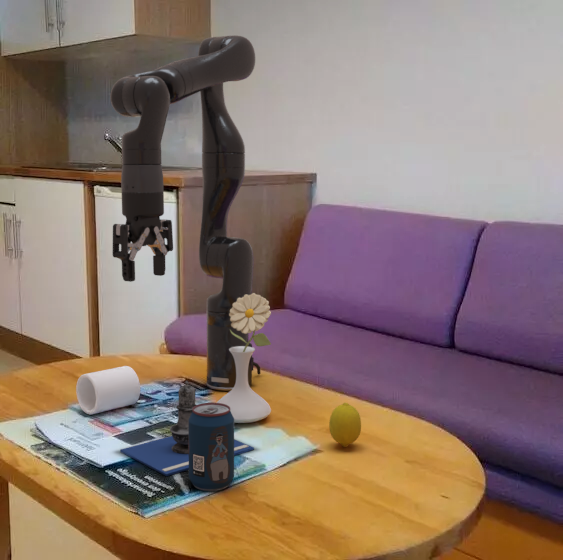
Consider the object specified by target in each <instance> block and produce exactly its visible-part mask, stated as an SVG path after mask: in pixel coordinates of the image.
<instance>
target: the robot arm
mask: <svg viewBox="0 0 563 560" xmlns="http://www.w3.org/2000/svg"><path fill="white" fill-rule="evenodd" d="M199 44H200V45H199V47H198V52H197V56H192V57H187V58H183V59H179V60H178V59H177V60H175V61H171V62H169V63H167V64H165V65H161V66H160V67H158V68H155V69H153V70H148V71H143V72H137V73H134V74H129V75H126V76H123V77H121V78H119V79H118V80H117V81H116V82H115V83H114V84H113V85H112V88H111V90H110V104H111V107H112V108H113V109H114V111H115V112H116V113H117V114H119V115H120V116H122V117H126V118H140V120H139V122H138V125H137V127H136V128H135V129H133V130H129V131H126V132H124V134H123V135H122V137H121V175H120V186H121V214H122V216H124V217H125V218H126V219H125V223H114V224H113V225H112V257H113V258H116V259H119V260H120V261H121V276H122V280H123V281H124V282H129V283H130V282H131V283H132V282H134V281H136V262H135V258H136V255H137V253H138V252H139V251H141V250H142V247H149V248H150V250H151V251H152V253H153V255H152V267H153V270H152V271H153V273H152V274H153V275H154V276H157V277H158V276H160V277H162V276H165V275H166V256H167V255H168V253H169V252H172V251H173V250H174V237H173V235H174V234H173V224H172V223H173V221H172V219H164V218H163V219H162V218H161V217H162V216H163V215H164V214H165V205H164V204H165V202H164V201H165V199H164V194H165V193H164V173H163V166H162V165H163V164H162V140H163V137H164V132H165V127H166V124H167V119H168V116H169V111H170V106H171V105H174V104H176V103H178V102H180V101H183V100H185V99H187V98H190V97H191V96H193V95H195V94H197V93H199V94H200V105H201V106H200V107H201V126H202V127H201V130H202V131H201V133H202V137H201V174H202V175H201V176H202V195H201V197H202V201H201V202H202V204H201V222H200V232H199V233H200V234H199V243H198V262H199V266H200V269H201V272H203V274H205V276H207V277H210V278H216V279H222V284H221V289H220V291H218V292H217V293H214V294H211V295H209V296H208V297H207V298H206V381H205V382H206V383H205V384H206V387H207V388H208V389H211V390H215V391H220V392H221V391H222V392H230V391H231V390H232V389H233V388H234V386H235V383H236V365H235V360H234V357H233V355H232V353H231V352H230V351H229V349H230V348H231V347H236V346H246V344H247V343H248V341H249V333H247V334H244V333H242V332H241V330H240V331H237V330H236V329H234V328H233V327H232V326H231V323H232V321H230V318H231V317H230V316H229V313H230V309H232V307H233V303H236V301H237V299H238V298H242V297H244V295H246V294H247V295H248V296H249V295H251V294H252V293H253V279H254V265H255V264H254V262H255V261H254V250H253V247H252V245H251V244H250V242H249V241H248V240H247V239H245V238H242V237H236V236H235V237H234V236H228V216H229V212H230V209H231V206H232V204H233V203H234V200H235V198H236V197H237V196H238V193H239V191H240V189H241V187H242V185H243V183H244V179H245V175H246V147H245V146H246V145H245V142H244V139H243V137H242V135H241V133H240V131H239V129H238V127H237V126H236V124H235V122H234V120H233V119H232V117H231V115H230V113H229V111H228V109H227V105H226V101H225V93H224V83H227V82H228V83H229V82H239V81H243V80H246V79H248V78H249V77H250V76H251V75H252V73H253V72H254V69H255V67H256V52H255V48H254V45H253V44H252V42H251V41H250V40H249V39H248V38H247V37H245V36H243V35H237V34H236V35H234V34H233V35H221V36H210V37H207V38H204V39H203V40H202V41H201V43H199ZM165 239H166V240H165ZM230 330H231V331H232V332H233V333H234V334H236V335H238V336H240V337H242V338H243V339H244V340H245V341H246V342H247V343H246V342H244V341H242V340H241V339H239V338H237V337H235V336H234V335H233V334H232V333H231V331H230ZM248 347H253V343H251V342H250V343H249V344H248ZM254 360H255V359H254V357H253V354H252V355H251V358H250V361H249V366H248V384H249V386H250V387H251V386H252V385H253V371H254V367H255V368H256V374H257V375H261V367H260V365H259V364H258V363H257V362H255V361H254Z"/></svg>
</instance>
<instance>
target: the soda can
mask: <svg viewBox="0 0 563 560" xmlns="http://www.w3.org/2000/svg"><path fill="white" fill-rule="evenodd" d="M192 411H193V412H192V413H191V415H190V417H189V470H188V479H189V480H190V482H191V484H192V486H193V487H194V488H196V489H197V490H200V491H205V492H215V491H221V490H224V489H226V488H228V487H229V486H230V484H231V483H232V481H233V479H234V478H235V456H234V439H235V423H234V417H233V415H232V413H231V411H230V407H229V406H228V405H226V404H222V403H217V402H204V403H199V404H196V406H194V407H193V409H192Z"/></svg>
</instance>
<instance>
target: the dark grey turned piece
mask: <svg viewBox="0 0 563 560" xmlns="http://www.w3.org/2000/svg"><path fill="white" fill-rule="evenodd" d="M189 383H190V382H189V381H188V380H186V381H185V382H184V385H182V386H180V387H179V389H178V404H177V405H176V407H175V408H176V410H177V422H176V423H175V424H173V425H171V426H170V427H169V431H170V432H171V436H172V437H173V439H174V440H175V441H176V442H177V443H176V444H175V445H174V446H172V451H173V452H176V453H179V454H189V417H190V415H191V413H192V412H193V411H192V409H193V407H194V406H196V405H197V404H196V388H195V387H194V386H192V385H190V384H189Z"/></svg>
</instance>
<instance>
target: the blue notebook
mask: <svg viewBox="0 0 563 560" xmlns="http://www.w3.org/2000/svg"><path fill="white" fill-rule="evenodd" d="M176 443H177V442H176V441H175V440H174V439H173V437H172V435H170V436H167V437H163V438H158V439H155V440H151V441H148V442H143V443H140V444H136V445H133V446H129V447H125V448H121V449H120V450H119V452H120V453H122V454H124V455H125V456H127V457H129V458H131V459H133V460H135V461H137V462H138V463H141V464H142V465H144V466H146V467H148V468H150V469H151V470H153V471H155V472H157V473H159V474H161V475H163V476H165V477H169V476H173V475H175V474H179V473H182V472H183V473H184V472H186V471H189V454H179V453H176V452H173V451H172V446H174V445H175V444H176ZM254 450H255V447H254V446H251V445H249V444H247V443H244V442H241V441H239V440H237V439H235V438H234V457H236V456H238V455H241V454H244V453H248V452H251V451H254Z"/></svg>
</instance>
